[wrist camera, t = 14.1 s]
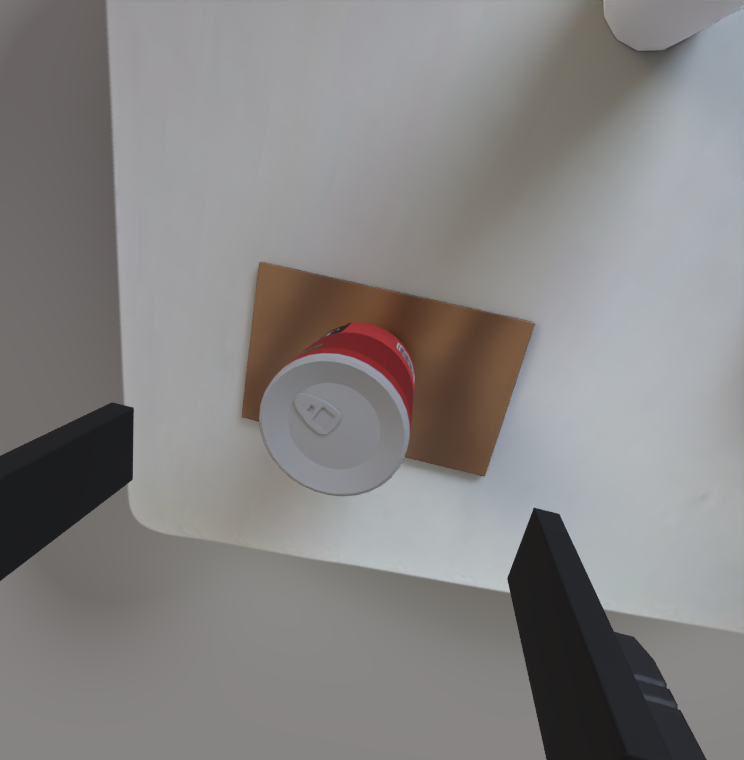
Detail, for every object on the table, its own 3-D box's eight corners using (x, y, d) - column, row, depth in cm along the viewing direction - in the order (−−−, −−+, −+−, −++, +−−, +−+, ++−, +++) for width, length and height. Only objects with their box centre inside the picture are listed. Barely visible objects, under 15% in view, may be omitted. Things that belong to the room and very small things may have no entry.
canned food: (334, 302, 31) (285, 329, 20) (434, 348, 31) (437, 399, 20) (297, 392, 33) (237, 458, 23) (390, 435, 33) (373, 520, 23)
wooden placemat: (533, 321, 30) (535, 323, 29) (483, 473, 34) (484, 476, 33) (262, 261, 31) (258, 262, 31) (244, 414, 35) (241, 417, 34)
